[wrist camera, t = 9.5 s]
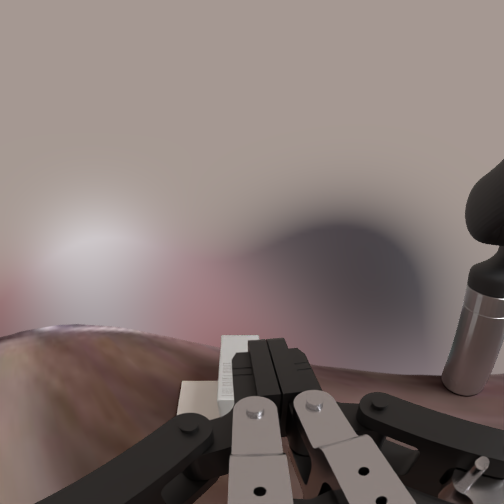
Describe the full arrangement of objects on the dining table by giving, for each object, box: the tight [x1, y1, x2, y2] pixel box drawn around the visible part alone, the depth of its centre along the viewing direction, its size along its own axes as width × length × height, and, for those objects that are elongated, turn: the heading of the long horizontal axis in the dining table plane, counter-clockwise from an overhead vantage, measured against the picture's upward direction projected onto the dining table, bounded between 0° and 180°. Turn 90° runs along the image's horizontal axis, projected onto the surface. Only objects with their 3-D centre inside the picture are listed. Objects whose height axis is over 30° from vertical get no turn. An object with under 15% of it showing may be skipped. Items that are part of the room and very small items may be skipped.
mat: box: [177, 381, 220, 420], centre depth 37 cm, size 18×12×1 cm, turn 96°
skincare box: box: [217, 335, 259, 417], centre depth 35 cm, size 8×6×15 cm
